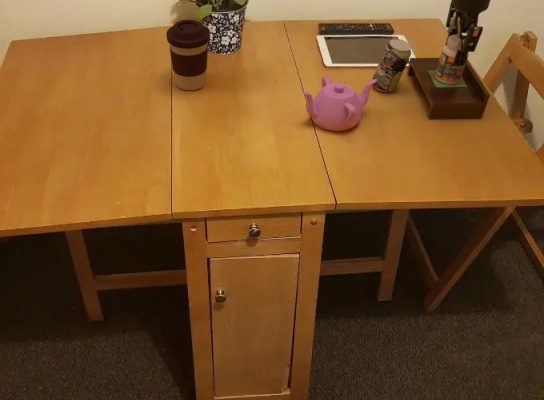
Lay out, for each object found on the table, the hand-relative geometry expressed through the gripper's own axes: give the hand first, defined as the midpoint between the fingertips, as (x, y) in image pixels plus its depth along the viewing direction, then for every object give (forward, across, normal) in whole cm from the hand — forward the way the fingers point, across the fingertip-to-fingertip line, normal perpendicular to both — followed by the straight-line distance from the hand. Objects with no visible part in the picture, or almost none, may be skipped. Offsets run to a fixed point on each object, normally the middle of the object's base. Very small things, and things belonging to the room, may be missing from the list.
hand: (453, 56), depth 131 cm
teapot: (+10, -9, +27) cm, 30 cm away
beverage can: (+10, +3, +13) cm, 17 cm away
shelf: (+10, 0, 0) cm, 10 cm away
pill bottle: (+6, 0, 0) cm, 6 cm away
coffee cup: (+10, +6, +60) cm, 61 cm away
